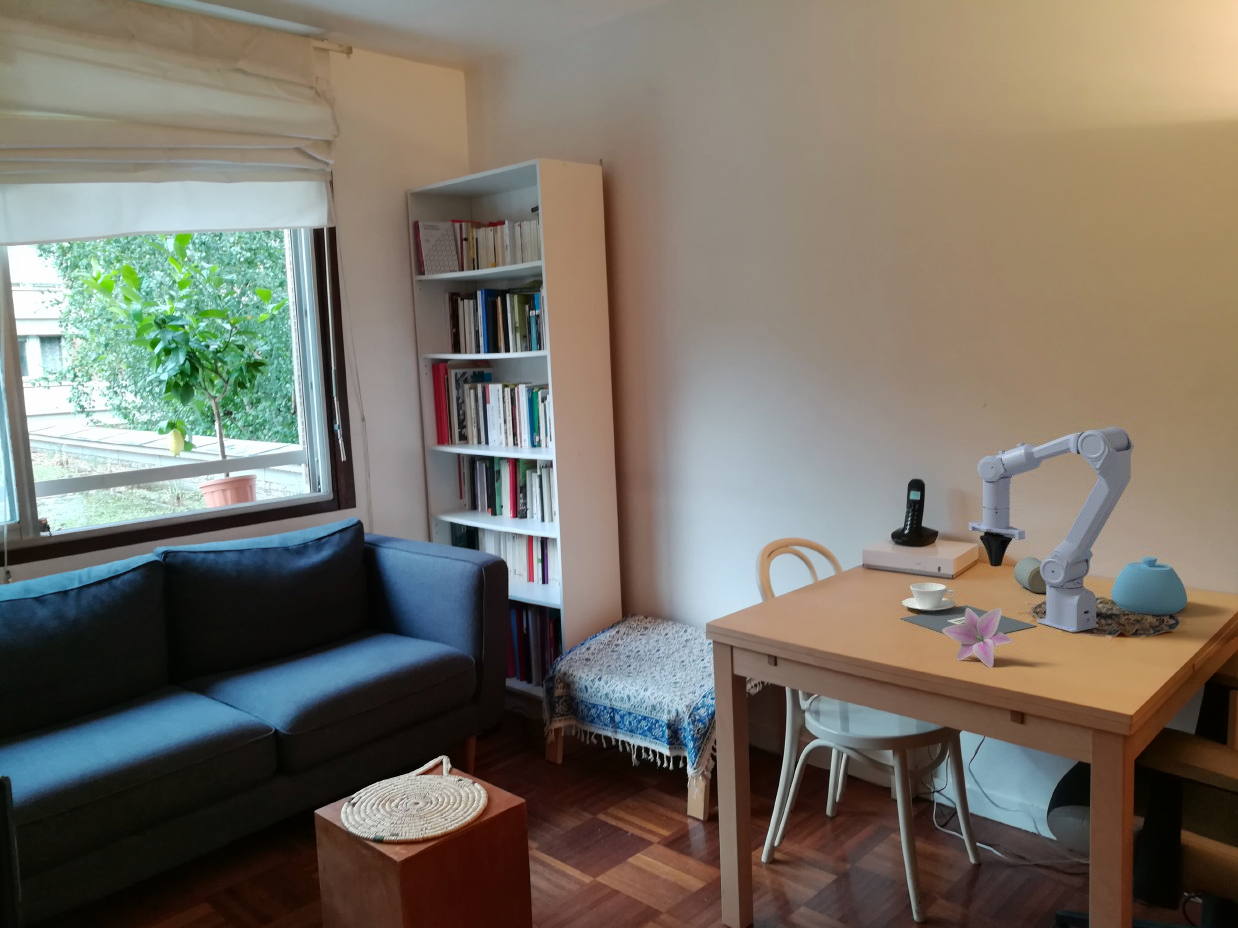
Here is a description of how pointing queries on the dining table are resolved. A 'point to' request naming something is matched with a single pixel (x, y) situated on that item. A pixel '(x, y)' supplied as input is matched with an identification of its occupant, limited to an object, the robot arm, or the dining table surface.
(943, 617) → the label mat
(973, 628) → the lily
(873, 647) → the dining table surface
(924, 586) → the teacup
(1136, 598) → the sugar bowl
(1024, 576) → the ceramic mug
